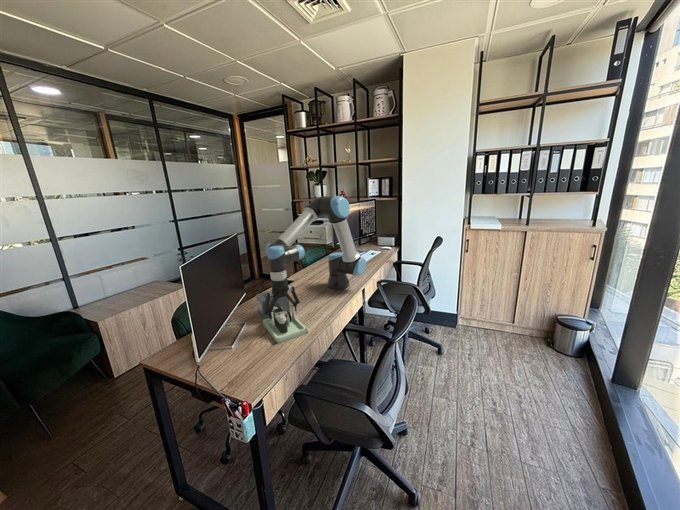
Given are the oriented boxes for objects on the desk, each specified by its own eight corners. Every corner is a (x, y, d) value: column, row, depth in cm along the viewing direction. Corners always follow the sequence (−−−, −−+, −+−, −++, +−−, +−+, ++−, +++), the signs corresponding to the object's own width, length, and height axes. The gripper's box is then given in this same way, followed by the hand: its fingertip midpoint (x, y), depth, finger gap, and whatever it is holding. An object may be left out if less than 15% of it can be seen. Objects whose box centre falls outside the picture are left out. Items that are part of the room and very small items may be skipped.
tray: (290, 316, 150) (289, 311, 150) (307, 333, 132) (307, 328, 132) (263, 324, 143) (262, 320, 142) (277, 343, 125) (277, 339, 124)
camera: (297, 330, 134) (295, 311, 131) (280, 336, 130) (278, 316, 127) (286, 317, 147) (284, 299, 144) (270, 321, 143) (268, 304, 140)
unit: (284, 307, 162) (282, 287, 159) (292, 314, 152) (290, 293, 149) (258, 314, 154) (255, 293, 151) (264, 323, 144) (261, 301, 141)
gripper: (297, 271, 140) (301, 311, 145) (252, 281, 128) (258, 324, 134) (304, 275, 133) (307, 317, 139) (257, 286, 122) (263, 331, 128)
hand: (283, 320), depth 136 cm, fingers open, 10 cm apart
